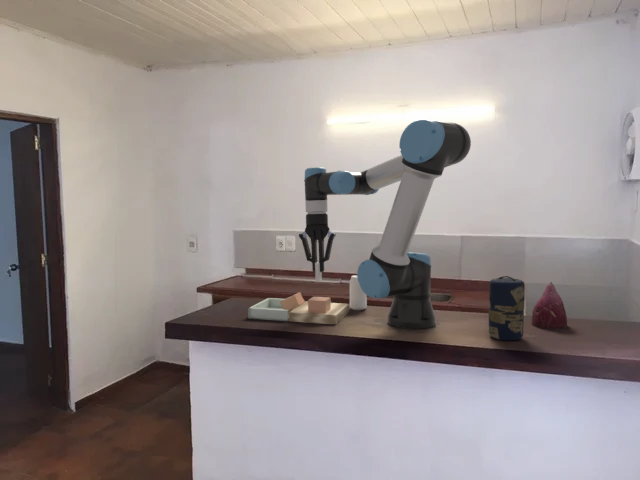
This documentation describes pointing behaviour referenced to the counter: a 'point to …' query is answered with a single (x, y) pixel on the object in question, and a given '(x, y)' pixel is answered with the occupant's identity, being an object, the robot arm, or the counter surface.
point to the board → (319, 314)
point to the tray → (269, 310)
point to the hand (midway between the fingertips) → (318, 281)
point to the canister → (506, 308)
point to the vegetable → (549, 310)
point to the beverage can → (357, 295)
